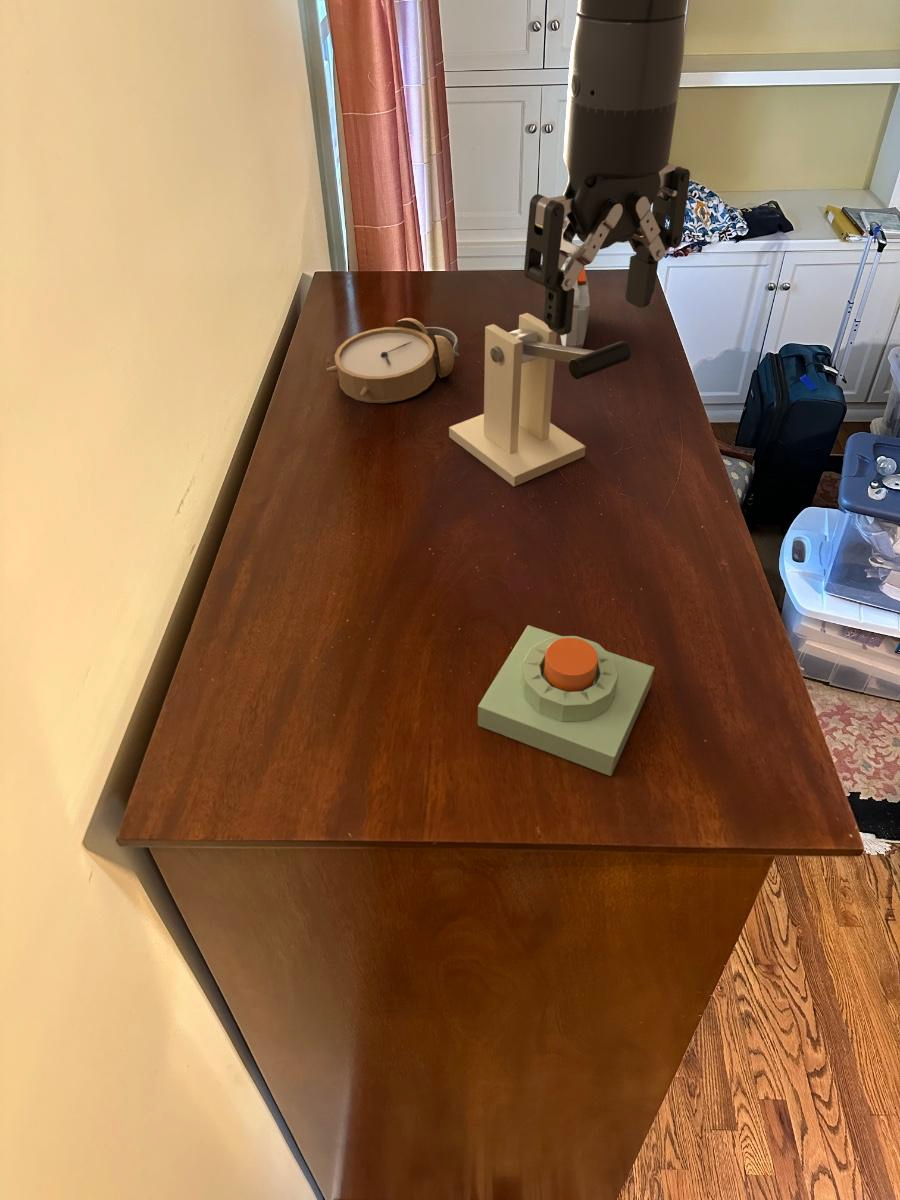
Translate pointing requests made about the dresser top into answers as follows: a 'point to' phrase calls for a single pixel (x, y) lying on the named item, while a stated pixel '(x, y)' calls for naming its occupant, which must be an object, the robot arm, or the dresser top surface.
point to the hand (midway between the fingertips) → (599, 317)
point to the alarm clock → (394, 361)
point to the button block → (566, 704)
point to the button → (570, 664)
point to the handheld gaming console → (578, 311)
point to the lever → (573, 354)
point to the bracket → (517, 410)
